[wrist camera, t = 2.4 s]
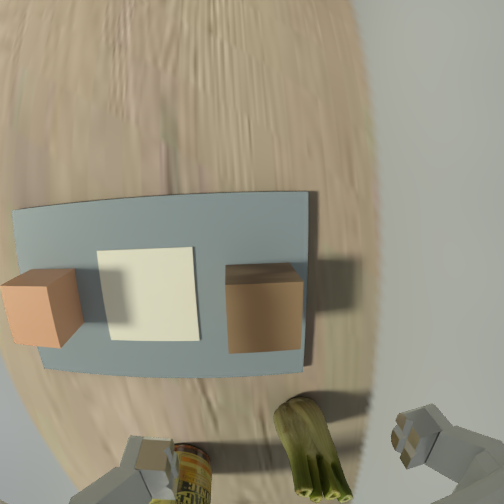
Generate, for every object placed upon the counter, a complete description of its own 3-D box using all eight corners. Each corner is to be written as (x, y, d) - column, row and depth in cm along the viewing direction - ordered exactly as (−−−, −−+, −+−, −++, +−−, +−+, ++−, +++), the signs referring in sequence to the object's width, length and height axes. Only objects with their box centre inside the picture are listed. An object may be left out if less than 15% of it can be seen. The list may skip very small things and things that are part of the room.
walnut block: (289, 262, 25) (303, 281, 20) (288, 320, 26) (300, 349, 22) (225, 264, 25) (225, 285, 20) (228, 323, 26) (228, 353, 21)
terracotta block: (74, 268, 24) (46, 286, 19) (84, 322, 25) (60, 348, 20) (30, 269, 24) (-1, 285, 19) (41, 320, 25) (14, 343, 20)
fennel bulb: (328, 415, 30) (363, 498, 19) (288, 435, 31) (309, 521, 19) (305, 382, 29) (340, 473, 17) (262, 404, 29) (278, 499, 18)
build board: (305, 191, 25) (308, 191, 24) (300, 366, 29) (303, 373, 27) (17, 209, 23) (10, 210, 22) (48, 363, 27) (43, 369, 26)
